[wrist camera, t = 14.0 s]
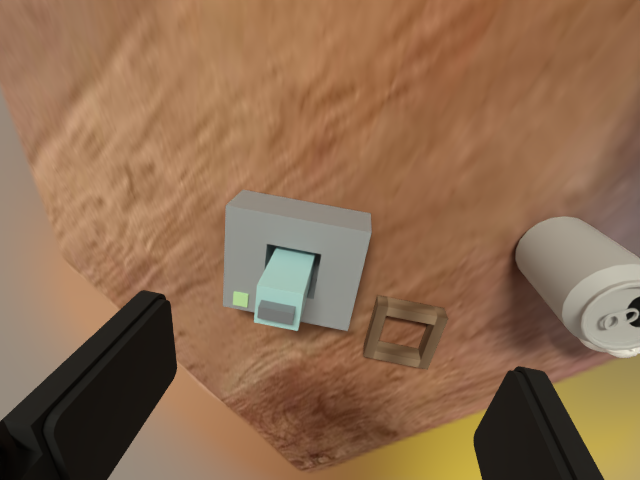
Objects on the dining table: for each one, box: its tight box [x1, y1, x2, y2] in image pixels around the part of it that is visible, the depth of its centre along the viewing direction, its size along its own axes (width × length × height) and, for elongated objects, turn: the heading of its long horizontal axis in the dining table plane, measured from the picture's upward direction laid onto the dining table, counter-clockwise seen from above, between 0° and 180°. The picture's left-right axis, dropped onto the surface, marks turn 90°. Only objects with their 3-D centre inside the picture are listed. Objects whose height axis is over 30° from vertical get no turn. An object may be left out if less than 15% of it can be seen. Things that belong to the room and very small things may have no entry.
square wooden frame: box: [364, 295, 448, 370], centre depth 41 cm, size 8×8×2 cm
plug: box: [254, 246, 317, 331], centre depth 33 cm, size 4×4×11 cm
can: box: [515, 216, 640, 350], centre depth 30 cm, size 8×8×12 cm
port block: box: [223, 190, 371, 331], centre depth 37 cm, size 14×12×5 cm
